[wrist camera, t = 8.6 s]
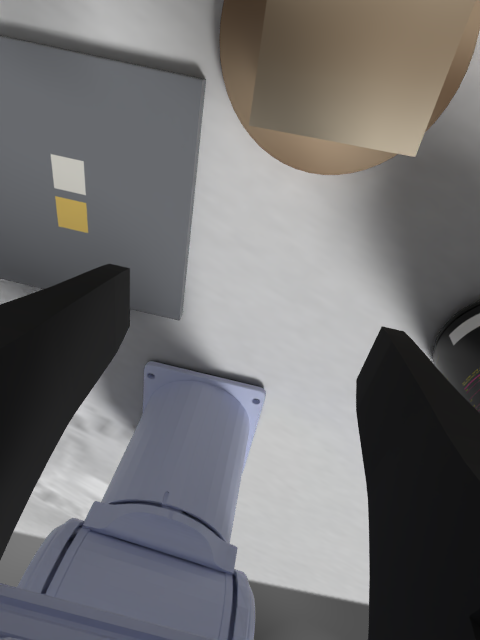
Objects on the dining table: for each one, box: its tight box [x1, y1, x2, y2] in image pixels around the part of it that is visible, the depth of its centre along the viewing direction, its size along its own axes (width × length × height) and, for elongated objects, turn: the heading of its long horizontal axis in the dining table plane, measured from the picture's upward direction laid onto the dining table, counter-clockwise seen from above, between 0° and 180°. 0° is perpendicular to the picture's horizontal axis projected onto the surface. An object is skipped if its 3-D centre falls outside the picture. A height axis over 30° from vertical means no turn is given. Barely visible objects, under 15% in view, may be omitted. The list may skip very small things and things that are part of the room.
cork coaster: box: [219, 0, 480, 175], centre depth 14 cm, size 9×9×1 cm
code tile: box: [0, 35, 206, 320], centre depth 20 cm, size 12×12×1 cm
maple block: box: [249, 0, 476, 157], centre depth 12 cm, size 4×4×6 cm
